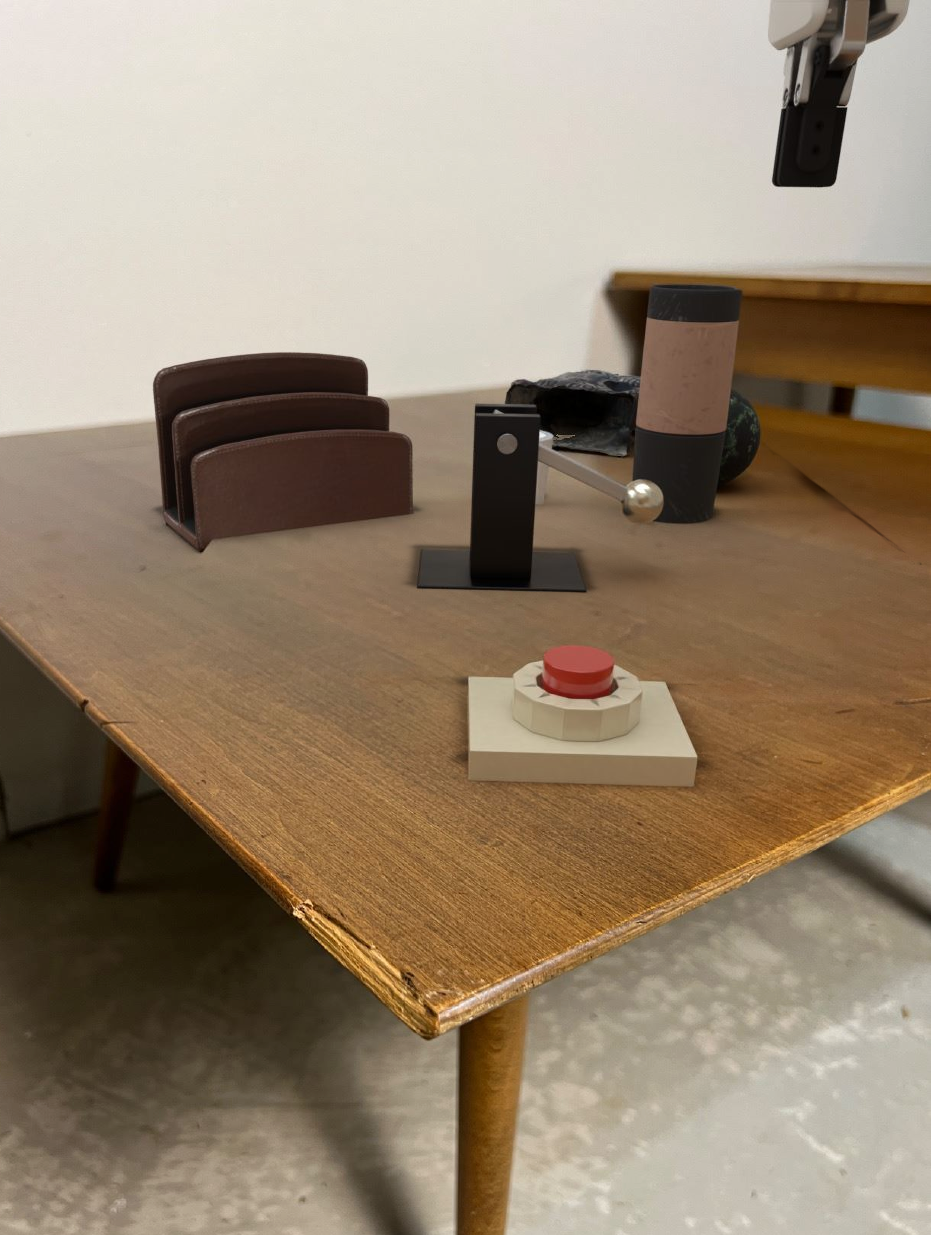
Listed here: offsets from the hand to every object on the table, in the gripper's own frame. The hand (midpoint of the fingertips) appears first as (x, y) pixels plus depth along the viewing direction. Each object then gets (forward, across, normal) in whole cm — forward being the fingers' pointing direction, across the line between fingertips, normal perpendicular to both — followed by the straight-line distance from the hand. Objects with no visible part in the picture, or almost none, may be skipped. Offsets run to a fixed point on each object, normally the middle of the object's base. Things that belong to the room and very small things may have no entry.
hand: (802, 185), depth 61 cm
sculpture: (+27, +70, +1) cm, 75 cm away
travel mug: (+27, +26, 0) cm, 38 cm away
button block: (+27, -18, +13) cm, 35 cm away
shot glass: (+27, +30, +14) cm, 43 cm away
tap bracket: (+27, +8, +16) cm, 32 cm away
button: (+24, -18, +13) cm, 33 cm away
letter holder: (+27, +23, +34) cm, 49 cm away
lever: (+20, +8, +12) cm, 24 cm away
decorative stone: (+27, +41, -6) cm, 50 cm away
